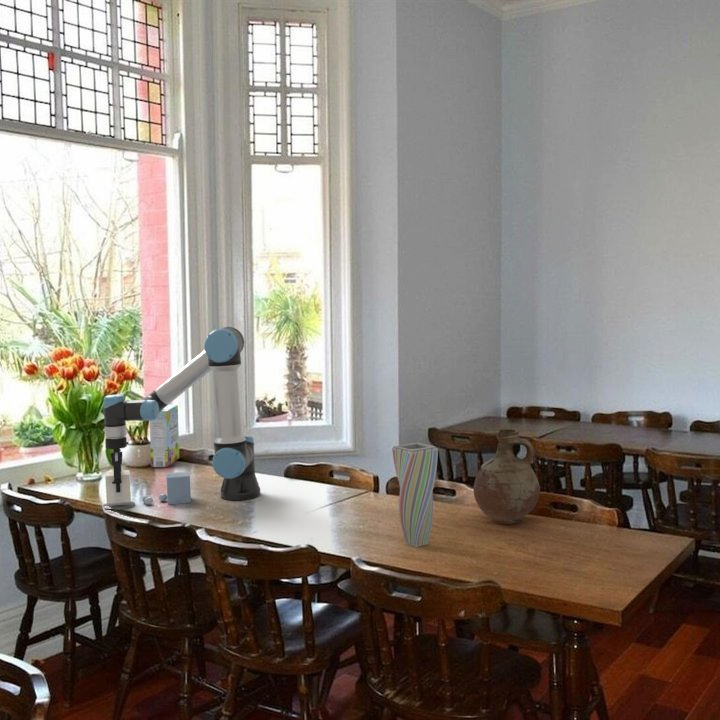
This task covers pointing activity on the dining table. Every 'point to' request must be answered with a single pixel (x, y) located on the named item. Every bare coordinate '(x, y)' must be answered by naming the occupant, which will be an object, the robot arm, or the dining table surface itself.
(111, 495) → the cream upright block
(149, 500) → the marble
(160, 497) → the marble
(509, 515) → the jug
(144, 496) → the marble
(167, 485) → the pale blue cube
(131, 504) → the coaster
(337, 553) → the dining table surface
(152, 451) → the snack box
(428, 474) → the vase
